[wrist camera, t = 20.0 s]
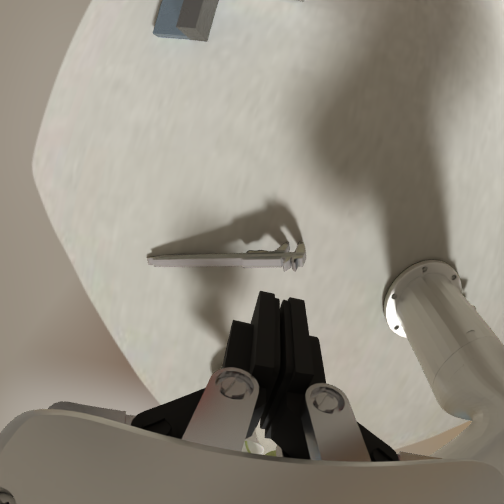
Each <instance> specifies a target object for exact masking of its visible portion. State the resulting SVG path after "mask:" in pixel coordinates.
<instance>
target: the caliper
mask: <svg viewBox="0 0 504 504" xmlns="http://www.w3.org/2000/svg"><path fill="white" fill-rule="evenodd" d="M289 250H290V247H289V243H284V244H283V245H282V246H280V247H279V248H278V249H277V250H275V251H264V250H258V251H253V250H249V251H247V253H233V254H193V255H163V256H156V257H147V261H148V264H149V265H154V267H194V266H243V268H261V267H282V266H283V269H284V272H285V271H287V270H288V269H290V268H291V266H292V269H293V270H294V271H296V270H297V267H303V265H304V263H305V260H306V250H305V245H304V242H299V244H298V246H297V248H296V250H295V252H289Z"/></svg>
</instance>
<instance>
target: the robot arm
mask: <svg viewBox="0 0 504 504" xmlns="http://www.w3.org/2000/svg"><path fill="white" fill-rule="evenodd" d="M384 316H385V318H386V321H387V323H388V325H389V327H390V328H391V330H392V331H393V332H395V333H396V334H398V335H400V336H402V337H406V338H407V339H408V341H409V343H410V345H411V347H412V349H413V351H414V353H415V355H416V357H417V359H418V361H419V363H420V365H421V367H422V369H423V372H424V374H425V376H426V378H427V380H428V382H429V384H430V387H431V389H432V391H433V393H434V395H435V397H436V400H437V402H438V403H439V405H440V406H441V408H442V409H443V410H444V411H446V412H447V413H448V414H450V415H452V416H454V417H457V418H461V419H465V420H470V421H472V422H471V424H470V425H469V426H468V427H467V428H466V429H465V430H464V431H463V432H461V433H460V434H459V435H458V436H457V437H455V438H454V439H453V440H451V441H450V442H449V443H447V444H446V445H444V446H443V447H442V448H440V449H439V450H437V451H436V452H435V453H433V454H432V455H430V456H424V455H417V454H412V453H406V452H399V453H398V454H396V452H395V451H394V450H393V449H392V448H391V447H390V446H388V445H387V444H386V443H384V442H383V441H382V440H380V439H379V438H378V437H376V436H375V435H374V434H372V433H371V432H370V431H369V430H367V429H366V428H365V427H363V426H362V425H361V424H359V423H358V422H357V421H356V418H355V416H354V413H353V410H352V408H351V405H350V403H349V400H348V398H347V396H346V395H345V394H344V393H343V392H342V391H341V390H340V389H339V388H337V387H335V386H333V385H330V384H326V380H325V374H324V367H323V361H322V355H321V349H320V343H319V339H318V338H317V337H314V336H309V330H308V323H307V316H306V309H305V302H304V300H300V299H296V298H291V297H290V298H289V299H288V301H287V300H283V301H282V304H281V307H280V301H279V299H277V298H275V294H273V293H268V292H263V291H260V292H259V296H258V299H257V303H256V306H255V310H254V313H253V317H252V321H251V324H249V323H245V322H240V321H236V320H233V322H232V326H231V330H230V334H229V339H228V343H227V347H226V352H225V357H224V362H223V367H222V369H219V370H217V371H216V372H214V373H213V375H212V376H211V378H210V380H209V382H208V384H207V386H206V388H204V389H201V390H199V391H196V392H194V393H191V394H189V395H186V396H184V397H181V398H179V399H176V400H173V401H171V402H168V403H166V404H163V405H160V406H157V407H155V408H152V409H149V410H146V411H144V412H142V413H140V414H138V415H137V416H133V415H126V411H119V410H112V409H106V408H99V407H93V406H87V405H82V404H77V403H71V402H58V403H54V404H53V405H52V406H50V407H49V408H48V409H39V410H31V411H27V412H24V413H22V414H21V415H19V416H17V417H15V418H14V419H13V420H12V421H11V422H10V423H9V424H8V425H7V426H6V427H5V428H4V429H3V430H2V431H1V433H0V504H504V345H503V344H502V342H501V341H500V340H499V338H498V337H497V336H496V335H495V333H494V332H493V331H492V330H491V328H490V327H489V326H488V325H487V323H486V322H485V321H484V320H483V318H482V317H481V316H480V315H479V314H478V312H477V311H476V307H475V306H473V305H471V304H470V303H469V302H468V301H467V299H466V298H465V297H464V296H463V295H462V285H461V280H460V278H459V275H458V274H457V272H456V271H455V270H454V269H453V268H452V267H451V266H450V265H449V264H447V263H445V262H443V261H439V260H426V261H422V262H419V263H416V264H414V265H412V266H411V267H409V268H407V269H406V270H405V271H404V272H402V273H401V274H400V275H399V276H398V277H397V278H396V279H395V281H394V282H393V284H392V285H391V286H390V288H389V290H388V292H387V295H386V298H385V301H384ZM260 418H261V419H260ZM259 420H260V428H261V429H265V438H270V439H272V440H273V441H274V442H275V443H276V444H277V447H276V456H269V455H261V454H254V453H248V452H241V451H242V448H243V445H244V441H245V439H247V438H249V437H251V436H252V434H253V432H254V430H255V428H256V427H257V425H258V422H259ZM13 497H14V498H13Z"/></svg>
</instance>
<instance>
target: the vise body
mask: <svg viewBox="0 0 504 504" xmlns="http://www.w3.org/2000/svg"><path fill="white" fill-rule="evenodd" d="M218 1H219V0H162V3H161V7H160V10H159V13H158V17H157V20H156V24H155V27H154V31H153V34H154V35H156V36H158V37H165V38H178V39H189V40H198V41H207V40H208V37H209V33H210V29H211V25H212V22H213V18H214V15H215V11H216V8H217V4H218Z"/></svg>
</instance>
